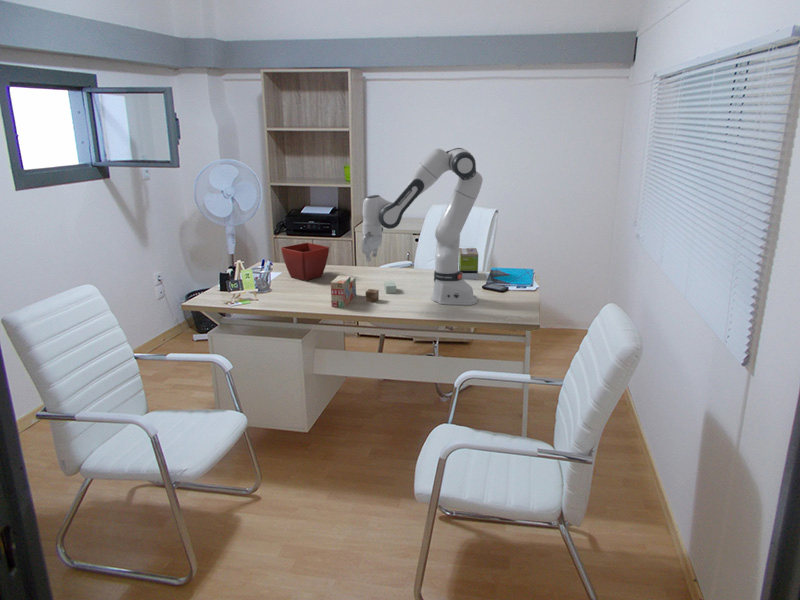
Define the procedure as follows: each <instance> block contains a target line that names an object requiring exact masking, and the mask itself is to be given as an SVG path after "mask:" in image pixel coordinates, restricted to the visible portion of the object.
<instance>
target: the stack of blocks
mask: <svg viewBox="0 0 800 600" xmlns="http://www.w3.org/2000/svg"><path fill="white" fill-rule="evenodd" d="M356 284H357V283H356V276H355V277H354V276H351V275H337V276H336V277H335V278H334V279H333V280H331V281H330V296H331V297H330V298H331V302H330V303H331V308H342V307H343V309H344V308H345V307H346V306H347V305H348V304H349V303H350V302H351V301H352V299H354V297H356V295H357V285H356Z"/></svg>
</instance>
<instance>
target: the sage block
mask: <svg viewBox="0 0 800 600" xmlns="http://www.w3.org/2000/svg"><path fill="white" fill-rule="evenodd" d="M383 283H384V284H383V288H384V291H385V293H386V294H397V285H396V283H395V281H384V282H383Z"/></svg>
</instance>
